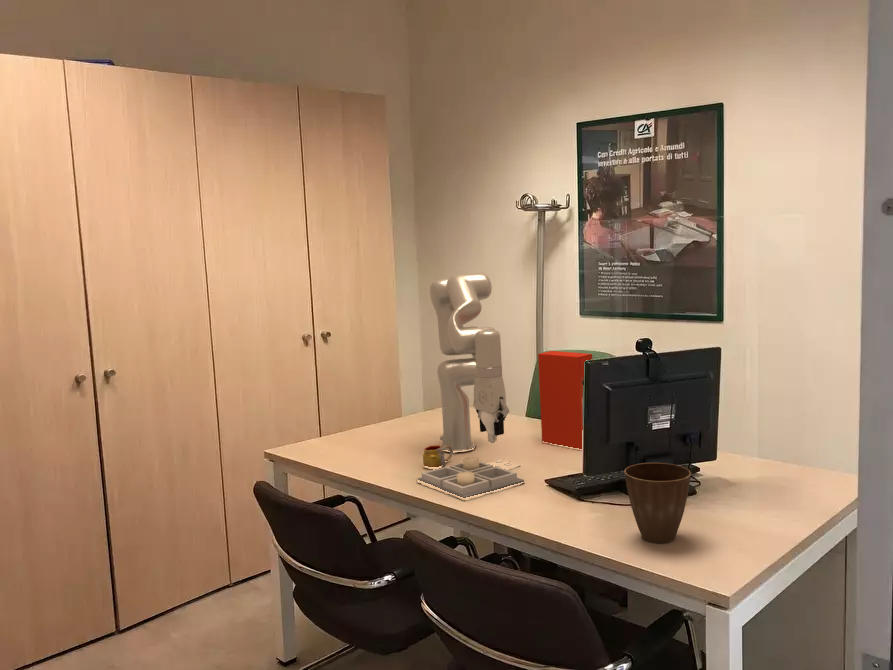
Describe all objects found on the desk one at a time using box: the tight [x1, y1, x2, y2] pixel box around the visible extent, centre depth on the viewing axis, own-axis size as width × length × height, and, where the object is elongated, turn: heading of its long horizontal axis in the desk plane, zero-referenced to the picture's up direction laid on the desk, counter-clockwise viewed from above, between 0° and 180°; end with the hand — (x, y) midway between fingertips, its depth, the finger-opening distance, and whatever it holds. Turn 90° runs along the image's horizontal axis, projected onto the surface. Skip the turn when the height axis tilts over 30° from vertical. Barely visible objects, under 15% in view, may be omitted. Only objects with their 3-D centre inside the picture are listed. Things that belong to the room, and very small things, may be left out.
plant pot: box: [623, 462, 692, 544], centre depth 180 cm, size 15×15×16 cm
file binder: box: [537, 350, 593, 449], centre depth 266 cm, size 8×17×32 cm, turn 43°
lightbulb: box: [480, 409, 500, 444], centre depth 226 cm, size 6×6×11 cm
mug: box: [422, 444, 454, 467], centre depth 250 cm, size 12×7×7 cm, turn 131°
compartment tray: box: [417, 456, 525, 498], centre depth 230 cm, size 24×22×5 cm
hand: (492, 432), depth 227 cm, fingers closed on lightbulb, 6 cm apart
